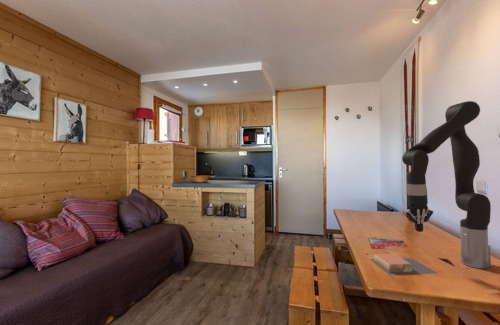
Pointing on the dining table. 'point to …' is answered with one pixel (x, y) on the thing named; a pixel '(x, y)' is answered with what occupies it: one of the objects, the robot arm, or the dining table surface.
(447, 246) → the dining table surface
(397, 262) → the tile
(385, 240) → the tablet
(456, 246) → the dining table surface
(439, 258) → the cell phone
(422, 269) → the mat
